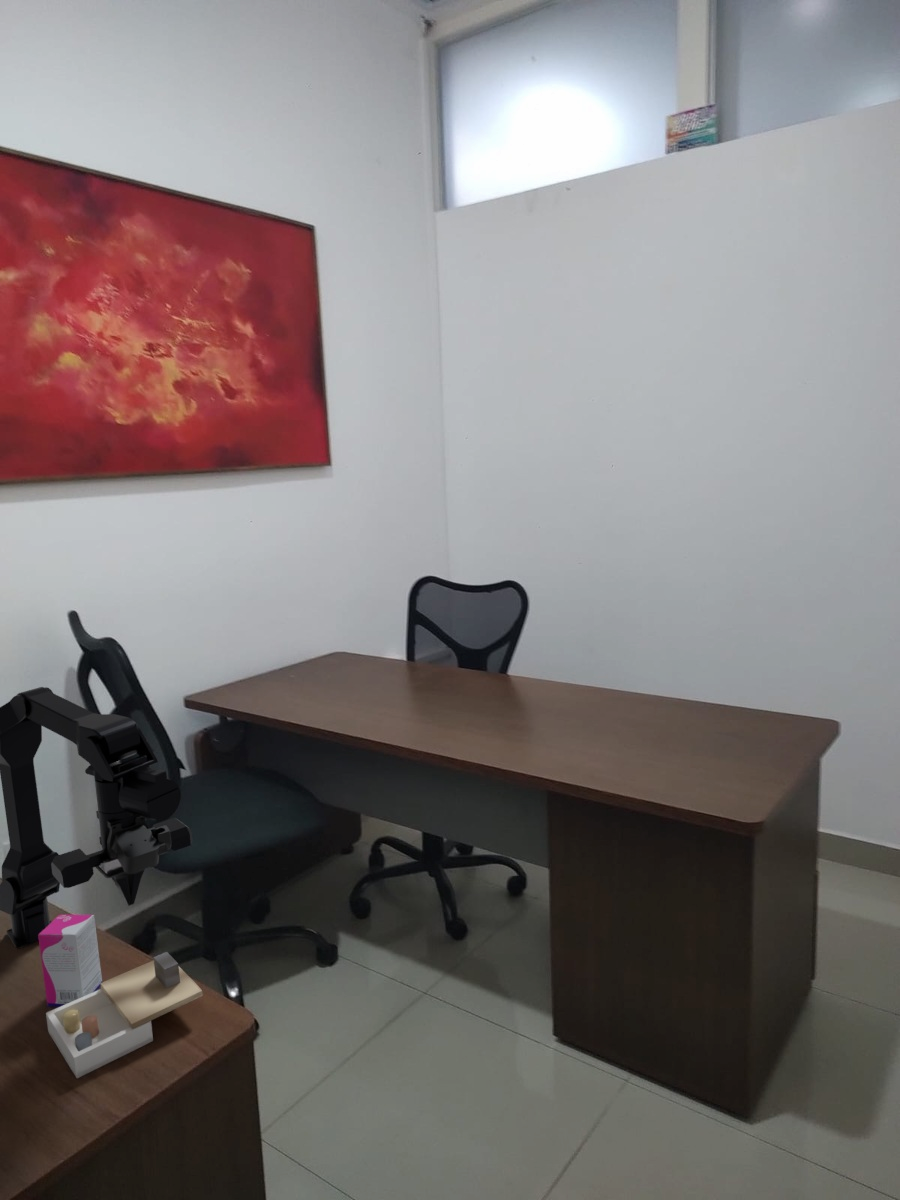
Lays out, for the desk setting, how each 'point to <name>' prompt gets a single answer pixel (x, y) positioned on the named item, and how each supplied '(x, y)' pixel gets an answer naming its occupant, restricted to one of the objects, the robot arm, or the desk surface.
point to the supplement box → (70, 959)
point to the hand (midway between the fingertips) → (130, 904)
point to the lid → (150, 990)
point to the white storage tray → (94, 1032)
